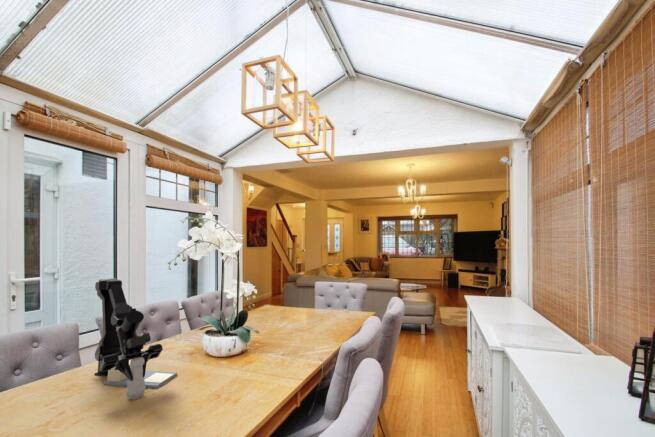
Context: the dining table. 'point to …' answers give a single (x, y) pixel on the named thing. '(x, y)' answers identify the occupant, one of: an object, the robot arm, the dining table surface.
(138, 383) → the salt shaker
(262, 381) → the dining table surface
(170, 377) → the board
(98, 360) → the robot arm
